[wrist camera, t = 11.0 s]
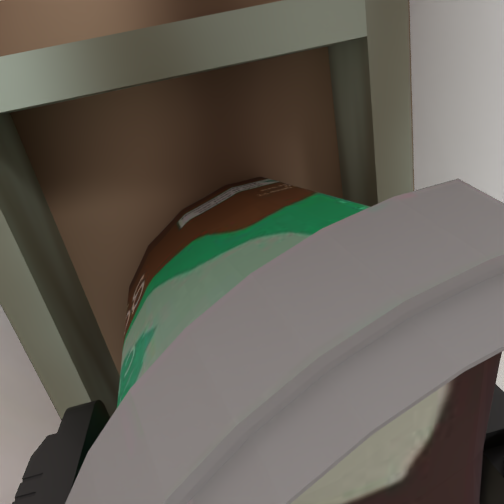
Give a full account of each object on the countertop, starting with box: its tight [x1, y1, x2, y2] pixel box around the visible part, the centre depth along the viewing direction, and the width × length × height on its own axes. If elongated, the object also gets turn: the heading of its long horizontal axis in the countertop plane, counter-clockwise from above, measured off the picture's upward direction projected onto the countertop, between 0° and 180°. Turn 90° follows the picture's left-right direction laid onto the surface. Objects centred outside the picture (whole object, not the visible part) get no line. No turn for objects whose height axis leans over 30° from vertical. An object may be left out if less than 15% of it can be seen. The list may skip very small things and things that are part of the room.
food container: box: [65, 176, 504, 504], centre depth 9 cm, size 12×6×10 cm, turn 5°
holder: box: [0, 0, 414, 420], centre depth 13 cm, size 14×20×4 cm
